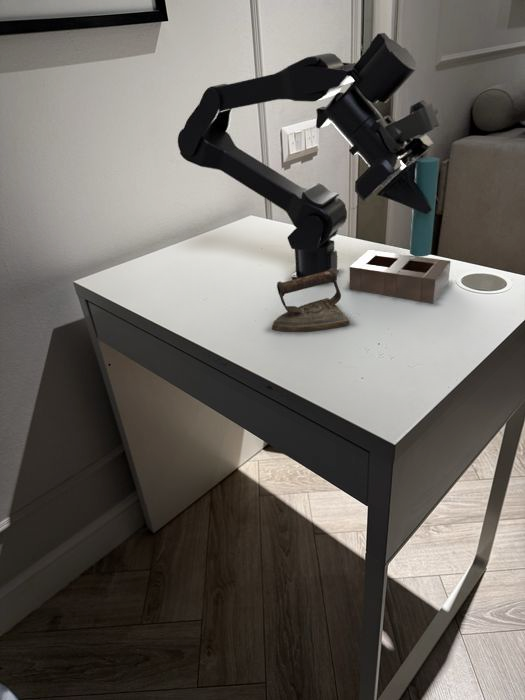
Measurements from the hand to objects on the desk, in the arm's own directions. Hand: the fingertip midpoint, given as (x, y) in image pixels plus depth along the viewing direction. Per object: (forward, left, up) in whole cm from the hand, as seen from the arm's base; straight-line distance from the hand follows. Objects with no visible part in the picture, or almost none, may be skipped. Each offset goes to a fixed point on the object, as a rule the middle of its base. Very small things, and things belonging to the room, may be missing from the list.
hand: (433, 208), depth 76 cm
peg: (-1, 0, -7) cm, 7 cm away
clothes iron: (-13, -17, -14) cm, 25 cm away
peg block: (-5, 0, -14) cm, 14 cm away
